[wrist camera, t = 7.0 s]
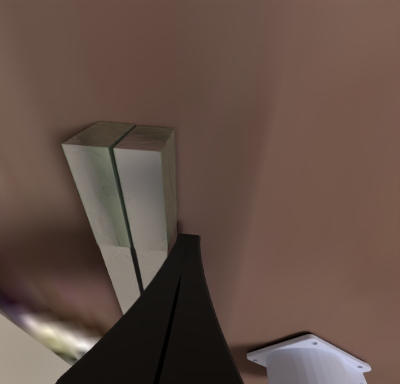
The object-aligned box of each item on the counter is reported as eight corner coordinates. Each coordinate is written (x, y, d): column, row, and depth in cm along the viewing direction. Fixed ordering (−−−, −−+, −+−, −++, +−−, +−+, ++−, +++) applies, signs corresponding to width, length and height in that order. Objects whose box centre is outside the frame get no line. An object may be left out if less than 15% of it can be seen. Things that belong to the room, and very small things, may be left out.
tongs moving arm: (180, 336, 21) (176, 366, 19) (153, 332, 21) (146, 362, 19) (174, 128, 9) (160, 151, 7) (110, 123, 9) (77, 145, 7)
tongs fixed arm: (185, 347, 23) (181, 383, 20) (146, 342, 23) (137, 377, 21) (188, 127, 9) (174, 158, 6) (88, 120, 9) (38, 147, 7)
